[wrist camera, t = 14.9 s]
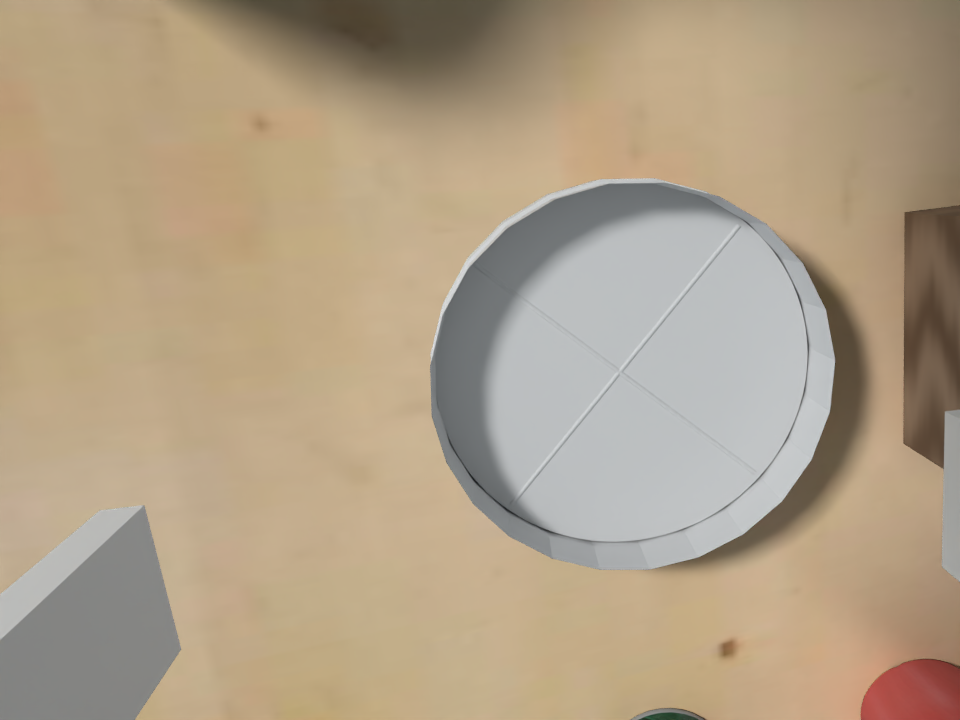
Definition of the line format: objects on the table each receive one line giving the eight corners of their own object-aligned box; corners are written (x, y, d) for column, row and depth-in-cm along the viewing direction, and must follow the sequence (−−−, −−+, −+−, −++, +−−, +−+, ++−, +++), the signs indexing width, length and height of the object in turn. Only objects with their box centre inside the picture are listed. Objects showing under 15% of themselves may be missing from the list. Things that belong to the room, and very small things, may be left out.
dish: (586, 95, 41) (599, 83, 36) (878, 328, 44) (927, 347, 39) (361, 401, 45) (345, 428, 40) (640, 595, 48) (656, 642, 43)
